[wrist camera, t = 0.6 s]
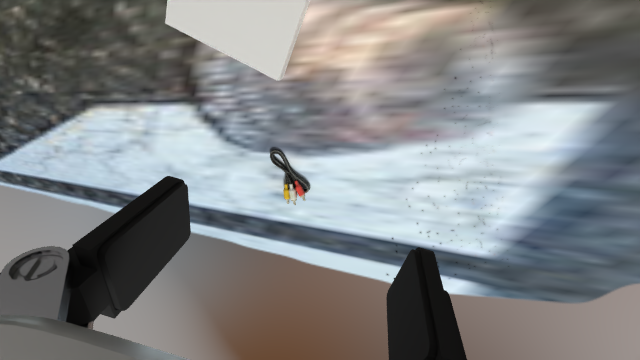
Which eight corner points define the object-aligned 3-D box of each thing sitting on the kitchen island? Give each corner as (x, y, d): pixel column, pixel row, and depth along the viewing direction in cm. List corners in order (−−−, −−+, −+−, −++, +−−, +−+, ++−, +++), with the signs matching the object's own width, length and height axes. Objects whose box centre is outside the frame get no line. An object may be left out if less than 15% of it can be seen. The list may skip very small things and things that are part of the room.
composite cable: (268, 150, 44) (262, 156, 42) (294, 143, 42) (290, 149, 40) (290, 199, 48) (286, 207, 46) (314, 194, 46) (311, 203, 44)
